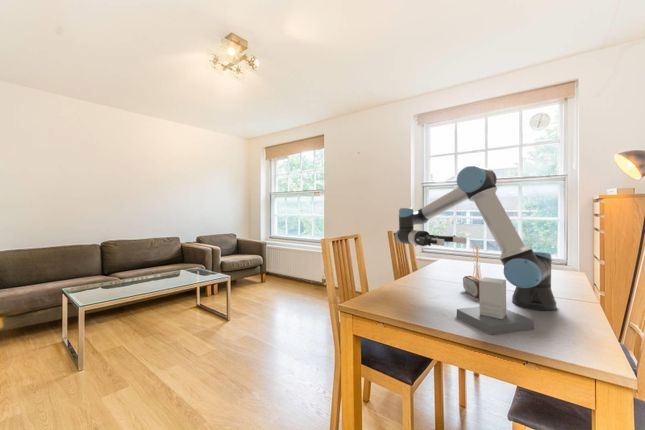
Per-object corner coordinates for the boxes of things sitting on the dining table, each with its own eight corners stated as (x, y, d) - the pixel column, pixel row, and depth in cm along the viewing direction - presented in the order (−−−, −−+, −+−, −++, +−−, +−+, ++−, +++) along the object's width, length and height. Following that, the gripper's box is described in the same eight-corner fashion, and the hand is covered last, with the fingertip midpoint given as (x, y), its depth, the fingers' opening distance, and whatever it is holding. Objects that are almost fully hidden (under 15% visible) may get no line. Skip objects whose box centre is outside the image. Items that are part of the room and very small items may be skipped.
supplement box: (506, 314, 102) (507, 279, 101) (502, 320, 96) (502, 283, 96) (484, 309, 107) (484, 276, 107) (478, 314, 101) (478, 280, 101)
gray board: (495, 312, 112) (495, 304, 111) (534, 328, 96) (534, 320, 96) (456, 316, 107) (456, 308, 107) (490, 334, 92) (490, 325, 92)
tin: (484, 300, 126) (484, 281, 126) (477, 300, 126) (477, 281, 126) (468, 290, 141) (468, 273, 141) (461, 290, 141) (461, 273, 141)
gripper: (437, 243, 147) (474, 247, 128) (400, 247, 137) (434, 252, 117) (437, 229, 147) (474, 231, 128) (400, 231, 137) (433, 234, 117)
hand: (455, 241), depth 122 cm, fingers open, 13 cm apart
